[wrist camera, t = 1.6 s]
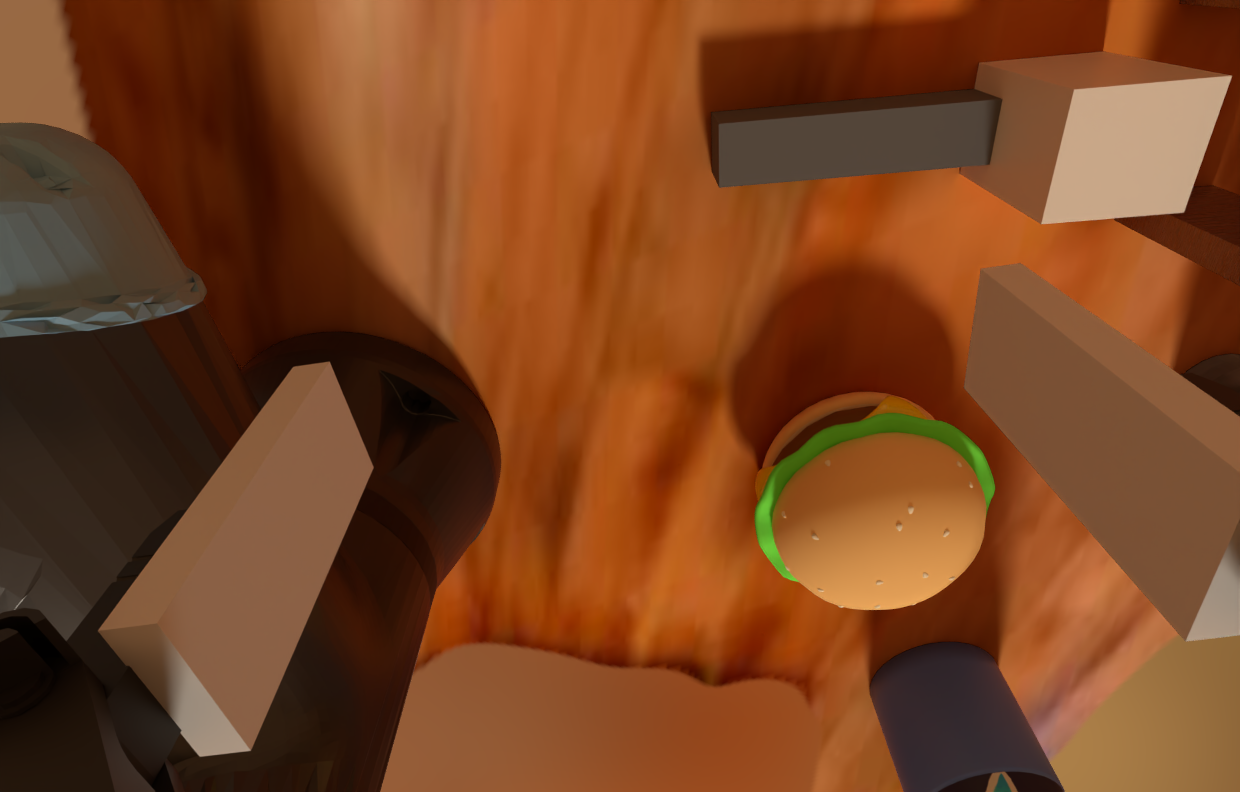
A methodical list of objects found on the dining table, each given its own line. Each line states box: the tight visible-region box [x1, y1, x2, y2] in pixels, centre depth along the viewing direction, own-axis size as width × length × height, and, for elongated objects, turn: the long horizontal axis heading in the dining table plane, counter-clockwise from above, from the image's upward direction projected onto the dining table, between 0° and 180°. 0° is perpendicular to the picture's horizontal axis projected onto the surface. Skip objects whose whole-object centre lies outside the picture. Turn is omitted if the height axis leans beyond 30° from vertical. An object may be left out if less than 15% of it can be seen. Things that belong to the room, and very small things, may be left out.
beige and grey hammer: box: [711, 51, 1232, 224], centre depth 27 cm, size 16×4×7 cm, turn 95°
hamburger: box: [755, 392, 995, 610], centre depth 36 cm, size 12×12×9 cm
